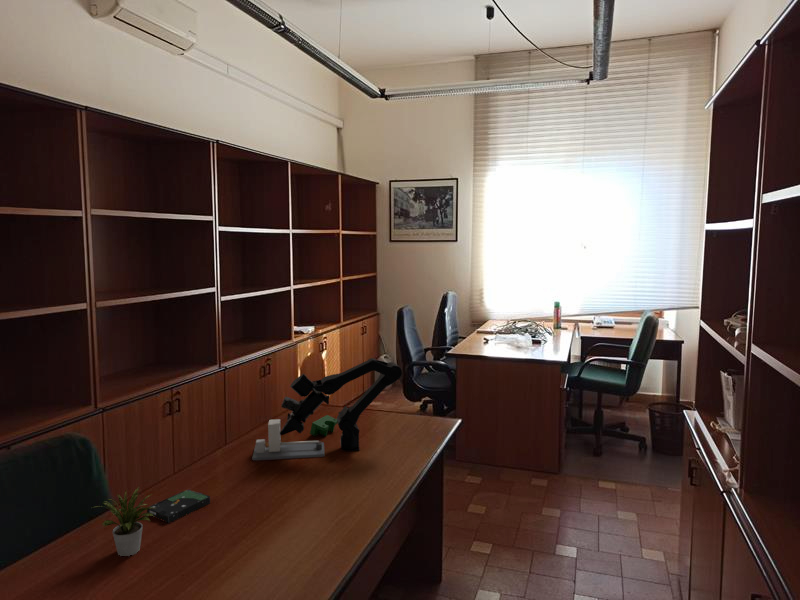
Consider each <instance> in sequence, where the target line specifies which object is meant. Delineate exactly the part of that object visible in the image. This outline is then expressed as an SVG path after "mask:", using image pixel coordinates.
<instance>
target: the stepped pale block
mask: <svg viewBox="0 0 800 600" xmlns="http://www.w3.org/2000/svg"><path fill="white" fill-rule="evenodd" d="M267 431H268V432H267V434H268V435H267V436H268V441H269V452H276V451H280V448H281V445H280V442H282V441H281V440H282V439H281V436H282V435H280V432H281V419H279V418H278V419H269V421H268V424H267Z"/></svg>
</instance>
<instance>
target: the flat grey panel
mask: <svg viewBox="0 0 800 600" xmlns="http://www.w3.org/2000/svg"><path fill="white" fill-rule="evenodd" d="M280 445H281V448H280V451H276V452H269V440H268V441H266V439H256V441H255V446H254V450H253V454H252V458H251V459H252V460H253V461H265V460H266V461H267V460H268V461H269V460H285V459H286V460H289V459H303V458H320V457H321V458H322V457H325V453H326V452H325V442H322V441H320V440H304V441H301V440H300V441H281V442H280ZM252 460H251V461H252Z"/></svg>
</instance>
